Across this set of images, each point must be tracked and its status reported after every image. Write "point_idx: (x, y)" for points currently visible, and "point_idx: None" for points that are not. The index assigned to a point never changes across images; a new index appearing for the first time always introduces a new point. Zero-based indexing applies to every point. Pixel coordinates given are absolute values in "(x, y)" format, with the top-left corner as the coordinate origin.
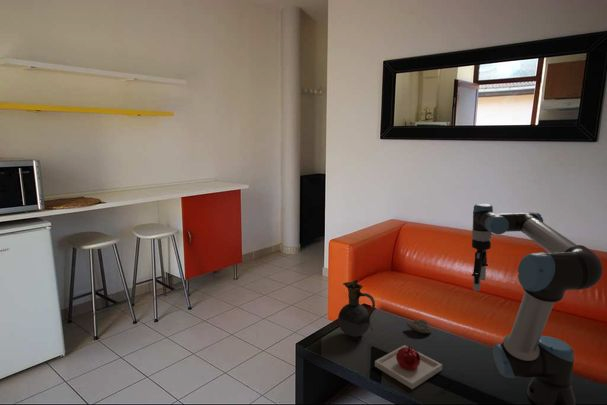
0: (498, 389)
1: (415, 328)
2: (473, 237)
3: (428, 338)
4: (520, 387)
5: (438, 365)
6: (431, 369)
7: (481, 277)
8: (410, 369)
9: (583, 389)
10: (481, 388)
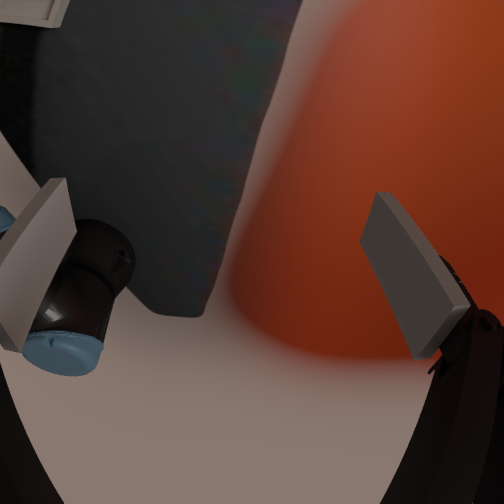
0: (59, 167)
1: None
2: None
3: None
4: (96, 206)
5: (41, 22)
6: (18, 18)
7: (380, 230)
8: None
9: (167, 298)
10: (40, 134)
